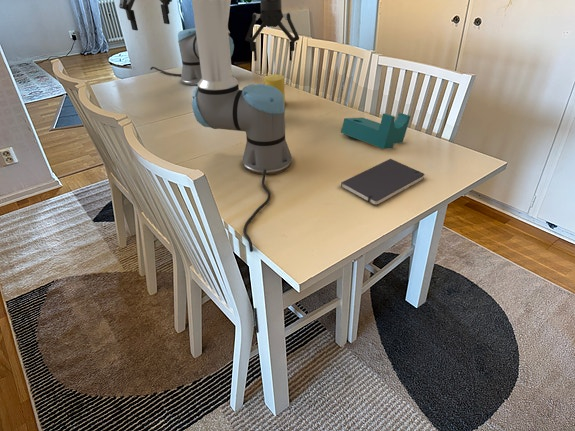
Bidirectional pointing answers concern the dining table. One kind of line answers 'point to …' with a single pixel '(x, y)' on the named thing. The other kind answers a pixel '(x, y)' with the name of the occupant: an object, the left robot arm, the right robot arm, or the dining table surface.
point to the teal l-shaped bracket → (377, 130)
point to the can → (276, 82)
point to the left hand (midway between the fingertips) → (151, 26)
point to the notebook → (382, 181)
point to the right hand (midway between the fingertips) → (273, 60)
